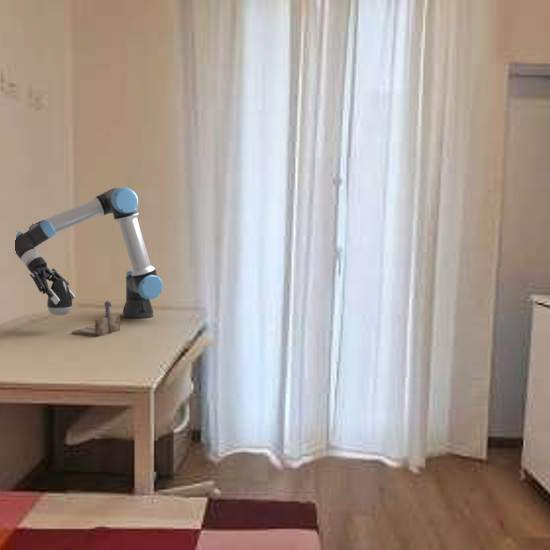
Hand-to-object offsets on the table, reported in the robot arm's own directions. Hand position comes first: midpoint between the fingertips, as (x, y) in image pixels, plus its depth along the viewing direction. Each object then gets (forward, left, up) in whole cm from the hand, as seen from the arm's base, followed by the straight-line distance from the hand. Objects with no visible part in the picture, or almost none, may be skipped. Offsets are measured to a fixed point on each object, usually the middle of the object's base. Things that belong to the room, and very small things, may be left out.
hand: (65, 300), depth 274 cm
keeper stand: (-6, +11, -14) cm, 18 cm away
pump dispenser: (0, -3, -6) cm, 7 cm away
